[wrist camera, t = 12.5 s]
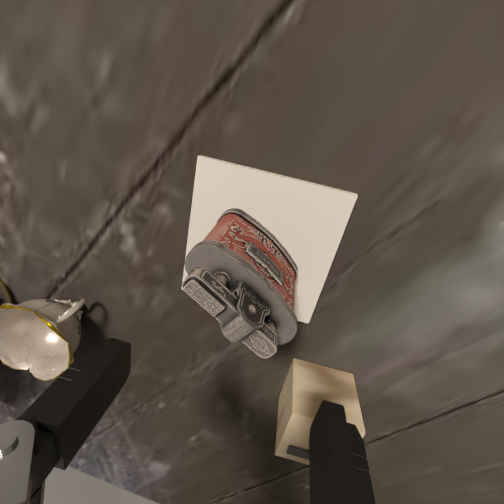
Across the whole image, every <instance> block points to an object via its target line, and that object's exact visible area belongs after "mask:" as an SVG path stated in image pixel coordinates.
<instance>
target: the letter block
mask: <svg viewBox="0 0 504 504" xmlns="http://www.w3.org/2000/svg"><path fill="white" fill-rule="evenodd" d="M323 400H327V401H330V402H333V403H337V404H340V405H343V406H344V409H345V414H346V421H347V422H348V423H351V424H354V425H356V427H357V429H358V431H359V433H360V435H361V437H362V438H363V437H364V435H365V434H366V433H365V428H364V424H363V419H362V414H361V410H360V405H359V400H358V396H357V391H356V387H355V382H354V377H353V374H350V373H346V372H343V371H339V370H335V369H332V368H328V367H324V366H320V365H317V364H313V363H309V362H306V361H302V360H298V359H295V358H293V361H292V364H291V367H290V369H289V372H288V375H287V377H286V380H285V383H284V386H283V388H282V391H281V394H280V396H279V405H278V419H277V433H276V446H275V455H276V456H280V457H283V458H287V459H290V460H294V461H297V462H301V463H304V464H307V465H309V434H310V428H311V424H312V422H313V420H314V417H315V415H316V413H317V411H318V409H319V407H320V405H321V403H322V401H323Z"/></svg>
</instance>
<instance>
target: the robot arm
mask: <svg viewBox="0 0 504 504" xmlns="http://www.w3.org/2000/svg"><path fill="white" fill-rule="evenodd" d="M130 363H131V344H130V343H129V342H125V341H122V340H118V339H115V338H111V339H109V340H108V341H107V342H106V343H105V344H104V345H103V346H102V348H101V349H98V348H94V347H93V348H92V349H90V350H88V351H86V352H85V353H83V354H81V355H80V356H79V357H78V358H77V359H76V360H75V361H74V362H73V363H72V364H71V365H70V366H69V368H68V369H66V370H65V371H64V372H63V373H62V374H61V375H60V377H59V378H57V379H56V380H55V381H54V382H53V383H52V384H51V385H50V386H49V387H48V388H47V389H46V390H45V392H44V393H43V394H42V395H41V396H40V397H39V398H38V399H37V400H36V401H35V402H34V403H33V404H32V405H31V406H30V407H29V408H28V409H27V410H26V411H25V412H24V413H23V414H22V415H21V416H20V417H19V418H17V419H16V420H14V421H9V422H6V423H3V424H1V425H0V504H43V499H44V488H45V479H46V478H47V476H48V475H49V473H50V472H51V471H52V469H53V468H54V467H56V468H60V469H63V470H65V469H66V468H67V466H68V465H69V463H70V462H71V461H72V459H73V458H74V456H75V455H76V453H77V452H78V450H79V449H80V448H81V446H82V445H83V443H84V442H85V440H86V439H87V437H88V436H89V435H90V433H91V432H92V430H93V429H94V427H95V426H96V424H97V423H98V422H99V420H100V419H101V417H102V416H103V414H104V413H105V411H106V410H107V409H108V407H109V406H110V404H111V403H112V401H113V400H114V398H115V397H116V395H117V394H118V393H119V391H120V390H121V388H122V387H123V385H124V384H125V382H126V380H127V378H128V376H129V373H130ZM309 468H310V504H375V499H374V494H373V488H372V483H371V478H370V474H369V467H368V462H367V460H366V451H365V446H364V441H363V439H362V437H361V435H360V433H359V431H358V429H357V427H356V425H354V424H351V423H348V422H347V421H346V414H345V409H344V406H343V405H340V404H337V403H333V402H330V401H327V400H323V401H322V403H321V405H320V407H319V409H318V411H317V413H316V415H315V417H314V420H313V422H312V424H311V428H310V434H309Z"/></svg>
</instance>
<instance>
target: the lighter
mask: <svg viewBox="0 0 504 504" xmlns="http://www.w3.org/2000/svg"><path fill="white" fill-rule="evenodd" d="M185 270H186V272H187V274H188V276H187V277H186V279H185V280H184V281H183V283H182V288H183V290H184V291H185V292H186V293H187V294H188V295H189V296H191V297H192V298H193V299H194V300H195V301H196V302H197V303H199V304H200V305H201V306H202V307H203V308H204V309H205V310H207V311H208V312H209V313H210V314H211V315H212V316H213V317H215V318H216V319H217V320H218V322H219V325H220V327H221V331H222V334H223V335H224V337H225V338H227V339H228V340H229V341H230V342H232V343H237V342H243V343H244V344H245V345H247V346H248V347H249V348H250V349H251V350H252V351H253V352H255V353H256V354H257V355H258V356H260V357H262V358H268V357H271V356H272V355H274V354H275V353H276V351H277V345H283V344H285V343H287V342H289V341H290V340H292V339H293V338H294V336H295V334H296V332H297V317H296V315H295V313H294V300H295V282H296V279H297V274H298V268H297V265H296V263H295V262H294V260H293V259H292V257H291V256H290V254H289V253H288V251H287V250H286V249H285V247H284V246H283V245H282V244H281V243H280V242H279V240H278V239H277V238H276V237H275V236H274V235H273V234H272V233H271V232H270V231H269V230H268V229H266V228H265V227H264V226H263V225H262V224H261V223H260V222H259V221H257V220H256V219H254V218H253V217H251V216H250V215H248V214H247V213H246V212H244V211H243V210H241V209H238V208H231V209H228V210H226V211H225V212H223V213H222V214H221V216H220V217H219V218H218V220H217V222H216V225H215V226H214V228H213V229H212V230H211V231H210V233H209V234H208V235H207V236H206V237H205V239H204V240H203V241H201V242H199V243H198V244H196V245H195V246H194V247H193V248H192V249H191V251H190V252H189V253H188V255H187V256H186V259H185Z"/></svg>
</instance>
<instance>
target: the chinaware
mask: <svg viewBox="0 0 504 504" xmlns="http://www.w3.org/2000/svg"><path fill="white" fill-rule="evenodd" d="M86 302H87V299H86V298H83V299H81V300H80V301H79V302H78V301H77V302H74V303H72V302H71V300H70V299H69V300H68V301H65V300H62V301H57V300H56V299H55V300H50V299H35V300H30V301H26V302H23V303H20V304H17V305H14V304H12V300H11V296H10V293H9V291H8V289H7V287H6V285H5V284H4V282H3V281H2V280H1V278H0V360H1V362H2V363H3V364H4V365H7V366H8V367H10V368H12V369H17V370H28V369H30V370H29V372H30V373H31V374H32V375H33V376H34V377H35V378H36V379H38V380H42V381H44V382H47V381H50V380H54V379H56V378H57V377H58V376H60V375H61V374H62V373H63V372H64V371H65V370H66V369H68V368H69V366H70V365H71V364H72V363H73V362H74V358H73V354H74V352H75V350H76V349H77V347H78V345H79V342H80V338H81V323H80V319H81V313H83V311H80V310H79V309H81V307H82V306H83V305H84V304H85V303H86Z"/></svg>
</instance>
